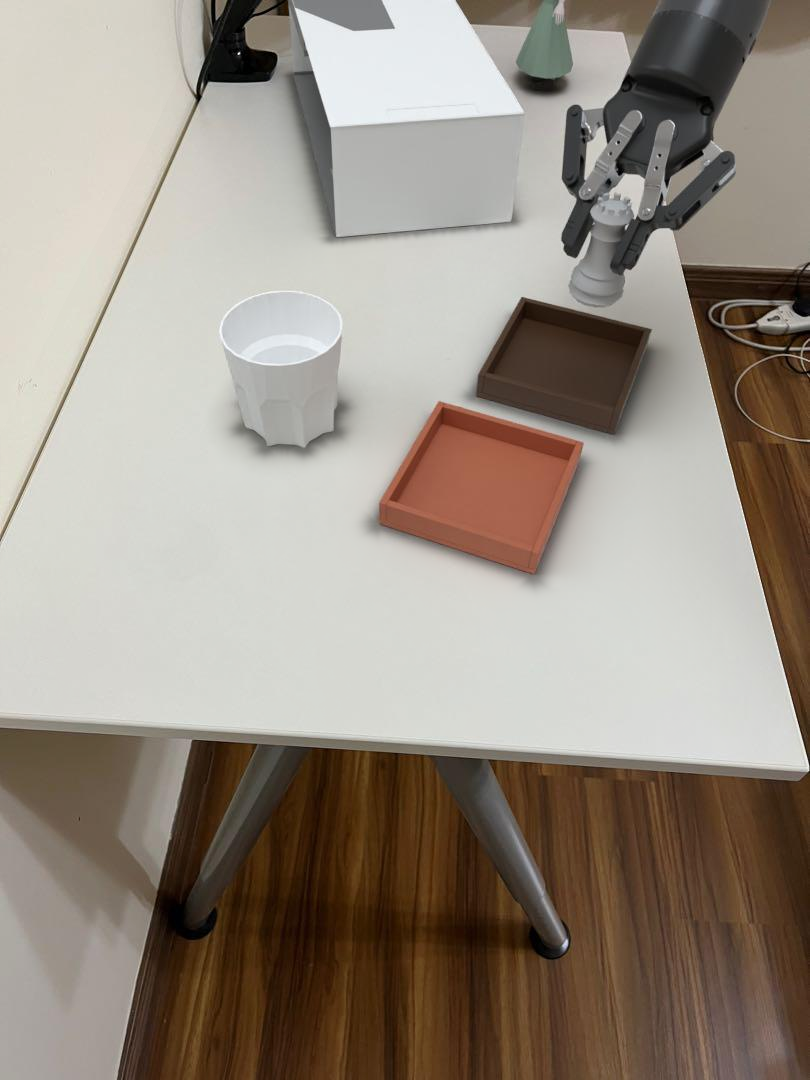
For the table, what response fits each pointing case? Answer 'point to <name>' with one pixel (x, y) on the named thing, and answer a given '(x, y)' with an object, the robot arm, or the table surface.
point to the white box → (404, 115)
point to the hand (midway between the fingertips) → (592, 261)
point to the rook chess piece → (602, 254)
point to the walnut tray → (564, 364)
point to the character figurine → (547, 46)
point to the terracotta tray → (482, 486)
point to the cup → (284, 364)
